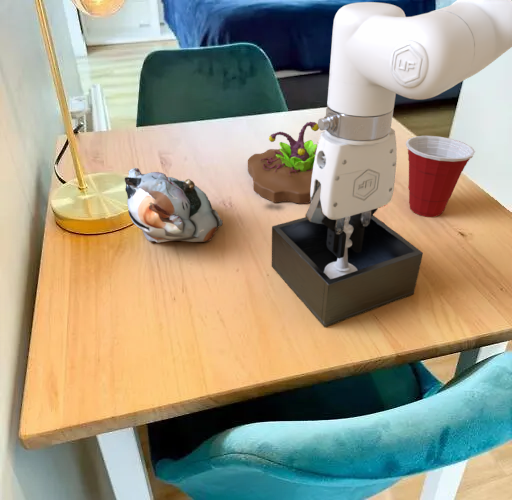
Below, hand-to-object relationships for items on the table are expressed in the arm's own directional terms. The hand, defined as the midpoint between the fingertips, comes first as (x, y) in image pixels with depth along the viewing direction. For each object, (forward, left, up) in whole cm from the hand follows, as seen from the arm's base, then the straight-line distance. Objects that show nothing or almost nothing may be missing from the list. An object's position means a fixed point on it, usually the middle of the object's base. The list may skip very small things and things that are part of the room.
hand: (344, 249), depth 69 cm
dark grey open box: (0, 0, -5) cm, 5 cm away
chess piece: (0, 0, -5) cm, 5 cm away
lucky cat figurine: (+22, +17, -6) cm, 28 cm away
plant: (+30, -11, -6) cm, 33 cm away
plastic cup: (+10, -25, -6) cm, 28 cm away
